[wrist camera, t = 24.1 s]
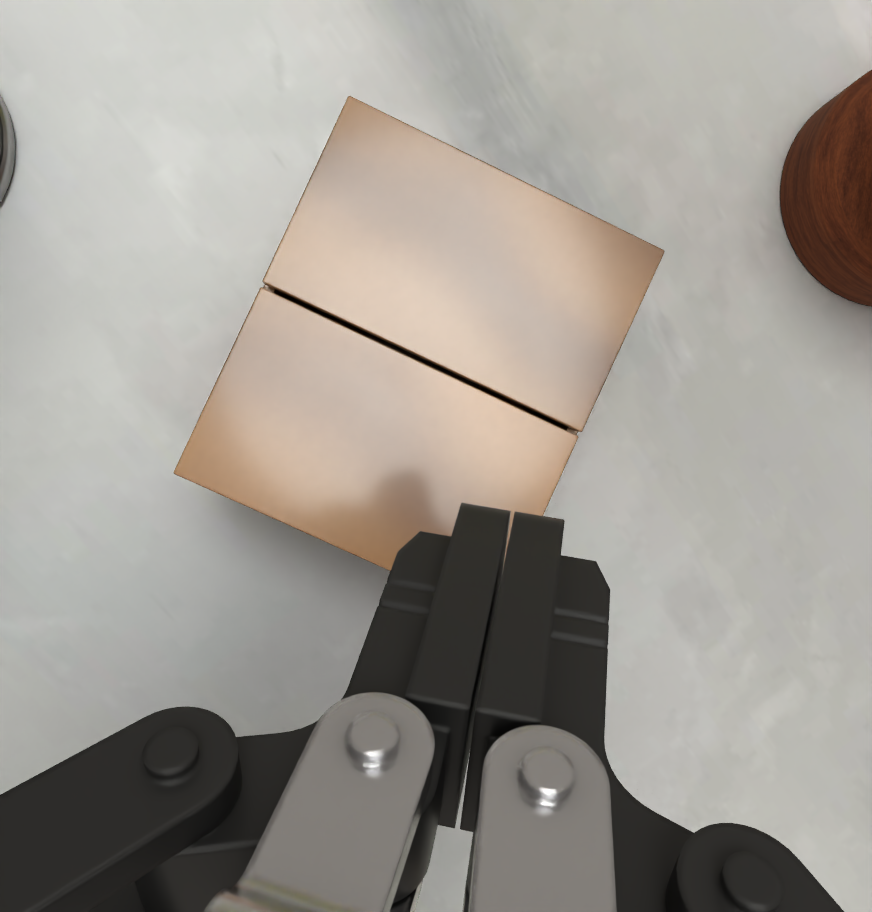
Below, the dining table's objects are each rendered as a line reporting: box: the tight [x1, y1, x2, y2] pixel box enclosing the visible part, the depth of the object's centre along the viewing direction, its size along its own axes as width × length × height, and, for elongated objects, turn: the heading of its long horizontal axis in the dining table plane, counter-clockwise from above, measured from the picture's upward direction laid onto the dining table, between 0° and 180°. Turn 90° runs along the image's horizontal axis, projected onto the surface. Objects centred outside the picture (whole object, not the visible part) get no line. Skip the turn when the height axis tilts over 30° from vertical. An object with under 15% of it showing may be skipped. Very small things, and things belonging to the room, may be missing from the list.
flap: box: [174, 287, 578, 571], centre depth 28 cm, size 7×12×1 cm, turn 65°
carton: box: [263, 96, 664, 435], centre depth 32 cm, size 14×12×10 cm
